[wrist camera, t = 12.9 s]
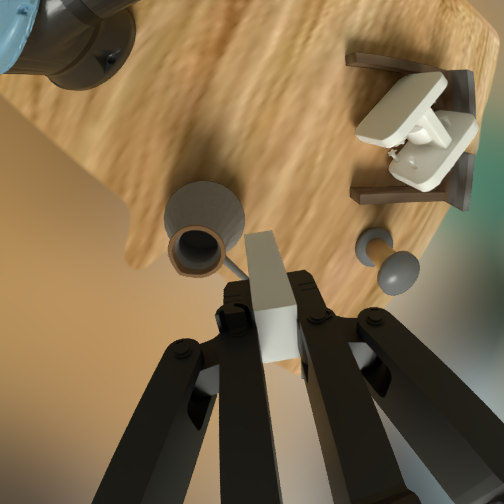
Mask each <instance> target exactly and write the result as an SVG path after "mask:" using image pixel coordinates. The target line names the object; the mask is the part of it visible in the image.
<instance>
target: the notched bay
mask: <svg viewBox="0 0 504 504" xmlns="http://www.w3.org/2000/svg"><path fill="white" fill-rule="evenodd" d="M345 60H346V66H353V67H362V68H370V69H378V70H385V71H391V72H397V73H403V74H408V75H410V74H418V73H428V72H441V73H442V74H443V75H444V77H445V78H446V80H447V81H448V84H447V86H446V88H445V89H444V91H443V92H442V93H441V94H440V96H439V97H438V98H437V99H436V103H434V108H435V111H438V110H444V111H453V112H461V113H469V114H472V115H473V116H474V117H475V119H476V104H475V85H474V73H473V72H472V71H470V70H449V71H446V70H443V69H439V68H436V67H432V66H428V65H424V64H420V63H416V62H411V61H407V60H402V59H397V58H392V57H386V56H380V55H374V54H367V53H360V52H355V53H352V54H350V55H348V56H346V57H345ZM474 159H475V155H474V154H471V153H467V152H463V153H462V154H461V156H460V157H459V158H458V160H457V161H456V162H455V164H454V166H453V167H452V168H451V169H450V171H449V172H448V173H447V174H446V175H445V177H444V178H443V179H442V180H441V183H440V184H439V185H438V186H436V187H435V188H433V189H432V190H430V191H427V192H422V191H420V190H418V189H416V188H414V187H412V186H385V187H354V188H350V197H351V198H352V199H353V200H354V201H356V202H357V203H358V204H360V205H364V204H382V203H403V202H430V201H445V202H447V203H449V204H450V205H452V206H454V207H456V208H458V209H459V210H461V211H468V210H469V204H470V197H471V189H472V181H473V171H474Z"/></svg>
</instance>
